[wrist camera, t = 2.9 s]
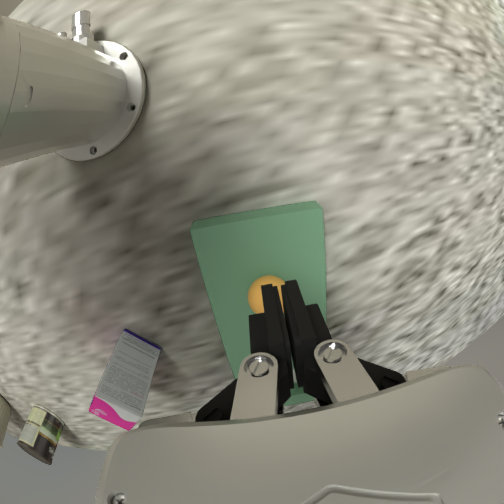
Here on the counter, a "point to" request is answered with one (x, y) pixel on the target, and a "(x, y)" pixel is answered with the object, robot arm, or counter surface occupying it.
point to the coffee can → (41, 434)
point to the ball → (256, 294)
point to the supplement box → (126, 381)
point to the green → (259, 267)
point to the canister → (3, 418)
